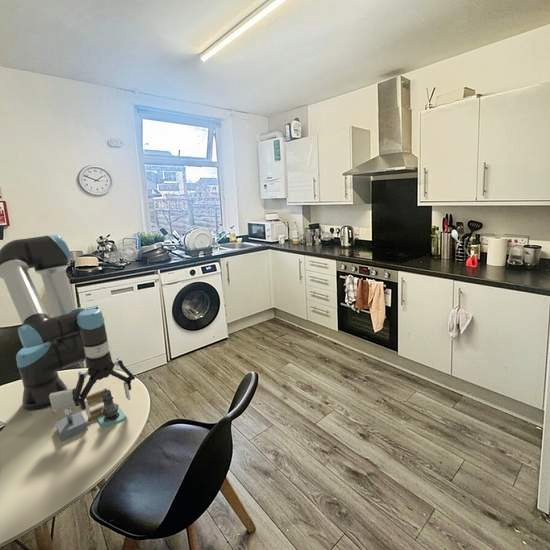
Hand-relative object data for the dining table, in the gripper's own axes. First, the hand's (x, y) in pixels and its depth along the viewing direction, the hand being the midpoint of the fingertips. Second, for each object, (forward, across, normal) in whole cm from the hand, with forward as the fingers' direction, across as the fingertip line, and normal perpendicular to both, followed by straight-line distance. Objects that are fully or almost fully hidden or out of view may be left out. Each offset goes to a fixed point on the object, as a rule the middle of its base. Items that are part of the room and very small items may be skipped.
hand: (109, 406), depth 122 cm
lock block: (+5, -12, +4) cm, 13 cm away
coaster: (+5, 0, 0) cm, 5 cm away
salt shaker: (+4, 0, 0) cm, 4 cm away
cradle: (+5, -2, +11) cm, 12 cm away
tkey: (+1, -12, +4) cm, 13 cm away
